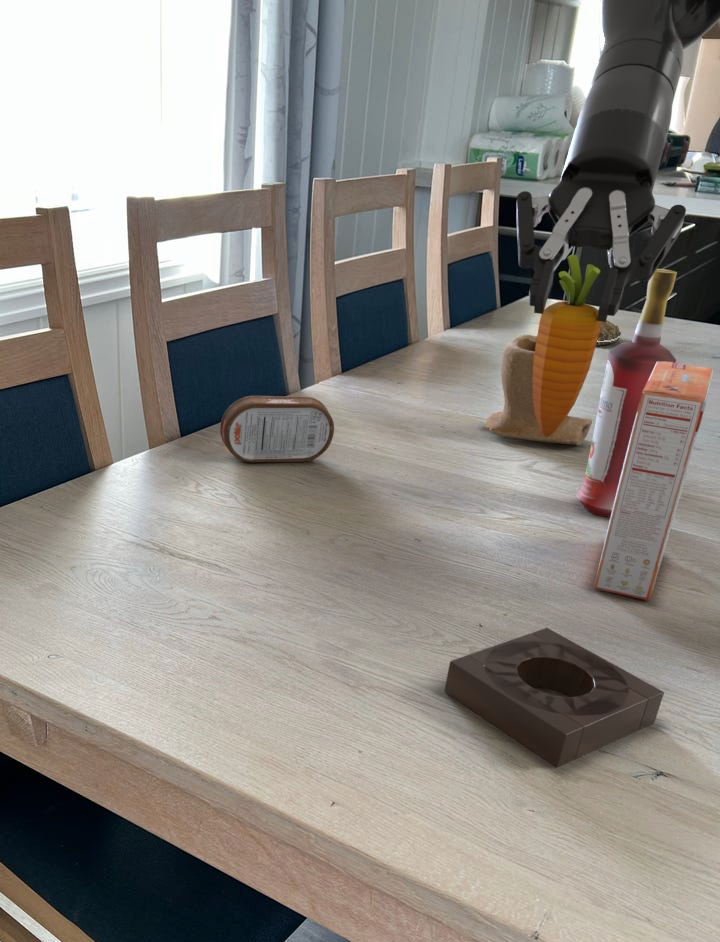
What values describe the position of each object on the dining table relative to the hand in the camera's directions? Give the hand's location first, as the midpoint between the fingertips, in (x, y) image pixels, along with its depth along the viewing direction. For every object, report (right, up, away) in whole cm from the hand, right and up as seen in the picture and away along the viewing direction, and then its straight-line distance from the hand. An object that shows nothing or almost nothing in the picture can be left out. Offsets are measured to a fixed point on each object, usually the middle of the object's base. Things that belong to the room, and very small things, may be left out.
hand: (570, 310), depth 79 cm
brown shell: (+48, +38, +130) cm, 144 cm away
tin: (-22, -3, +50) cm, 55 cm away
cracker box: (+15, -20, +26) cm, 36 cm away
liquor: (+18, -11, +42) cm, 47 cm away
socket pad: (-2, -32, +1) cm, 32 cm away
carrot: (0, -9, +7) cm, 11 cm away
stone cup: (+17, +3, +65) cm, 67 cm away
